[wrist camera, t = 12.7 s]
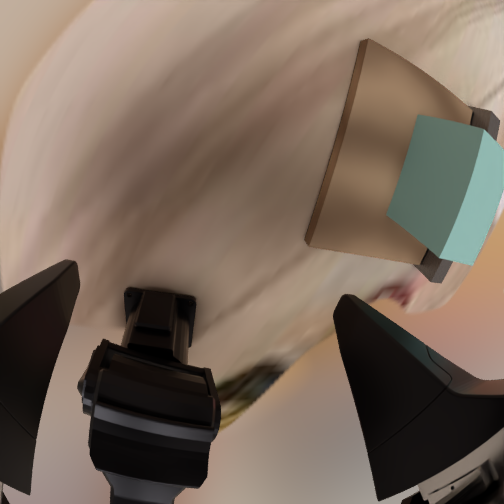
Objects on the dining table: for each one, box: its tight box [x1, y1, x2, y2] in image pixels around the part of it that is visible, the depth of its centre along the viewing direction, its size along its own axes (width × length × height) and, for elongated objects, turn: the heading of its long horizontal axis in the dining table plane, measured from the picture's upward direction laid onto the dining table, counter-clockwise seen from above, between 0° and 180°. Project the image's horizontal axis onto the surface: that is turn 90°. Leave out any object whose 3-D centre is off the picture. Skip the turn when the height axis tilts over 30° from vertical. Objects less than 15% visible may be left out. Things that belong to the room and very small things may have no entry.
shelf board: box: [305, 38, 472, 265], centre depth 19 cm, size 17×13×1 cm
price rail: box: [413, 106, 500, 283], centre depth 20 cm, size 18×2×4 cm, turn 167°
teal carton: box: [386, 114, 504, 265], centre depth 16 cm, size 5×9×7 cm, turn 167°
